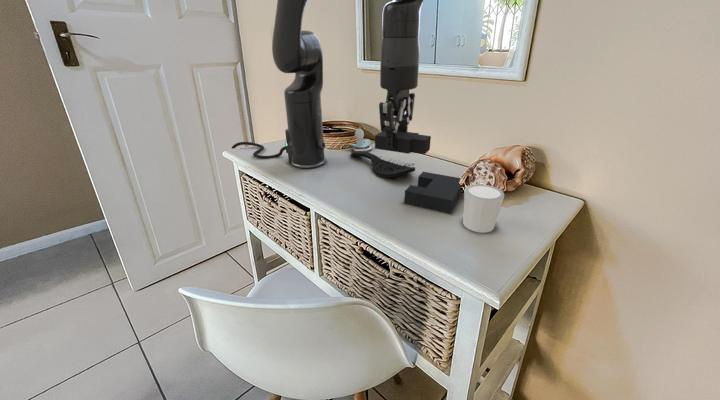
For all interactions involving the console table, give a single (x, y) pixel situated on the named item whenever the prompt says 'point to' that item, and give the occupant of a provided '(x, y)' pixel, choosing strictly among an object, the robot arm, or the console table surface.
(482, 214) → the white cylinder
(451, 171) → the console table surface
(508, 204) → the console table surface
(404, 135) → the pad
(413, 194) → the notch pad
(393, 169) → the hairbrush
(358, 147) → the pacifier
